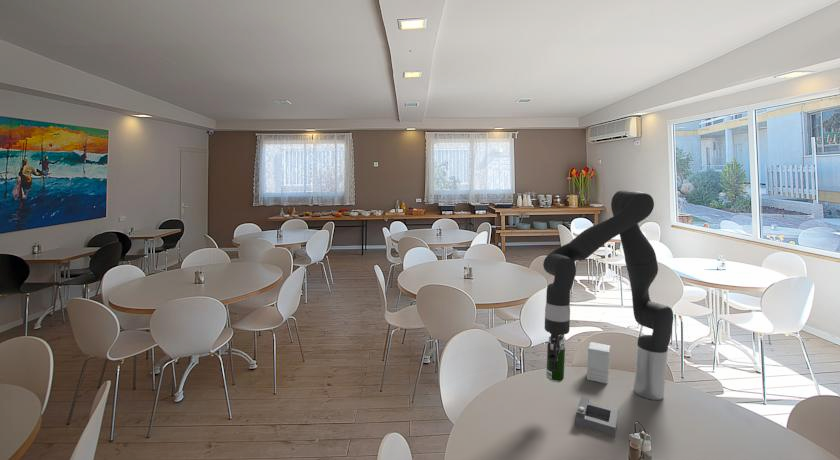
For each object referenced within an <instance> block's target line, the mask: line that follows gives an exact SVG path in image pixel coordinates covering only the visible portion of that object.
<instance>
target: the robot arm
mask: <svg viewBox="0 0 840 460" xmlns="http://www.w3.org/2000/svg"><path fill="white" fill-rule="evenodd" d="M610 204H611V205H610V207H611V208H610V209H611V213H612V217H610V218H607V219H606V220H603V221H601V222H599V223H597V224H594V225H592V226H590V227H588V228H587V229H585V230H583V231H582V232H580V233H579V234H578V235H577V236H576V237H574V238H573V239H572V240H570V241H569V242H568V243H566V244H564V245H562V246H560V247H557V248H556V249H554V250H552V251H551V252H550V253H549V254H547V255H546V257H545V258H544V260H543V265H542V266H543V269H544V271H545V272H547V273H548V274H549V275H551V276H554V277H553V278H554V279H553V282H552V283H550V284H548V285H547V288H546V295H545V297H546V299H545V308H544V330H545V331H546V332H547V333H549V334H550V336H548V342H549V343H548V342H547V345H548V360H550V371H554V372H557V365H558V354H559V353H560V349H561V344H563V343H564V344H565V335H568V334H569V333H570V326H571V325H570V322H571V306H570V303H571V302H570V301H571V290H572V287H573V284H574V281H575V277H576V273H577V267H576V266H577V265H576V264H575V262H576V261H579V262H580V261H584V260H586V259H587V258H589V257H591V256H592V255H593V254H594V253H595V252H596V251H597V250H599V249H600V248H601V247H602V246H604V245H605V244H607V242H609V241H611V240H612V239H613V238H616V237H618V236H619V237H620V243H621V247H622V250H623V254H624V261H625V266H626V270H627V274H628V279H629V284H630V290H631V299H632V309H633V310H632V311H633V316H634V320H635V321H636V323H637V324H638V325H640V326H643V327H645V328H648V329H651V330H652V334H643V335H640V336H638V338H637V343H636V344H637V346H636V358H635V359H636V361H635V370H634V371H635V372H634V383H633V384H634V385H633V391H634V392H635V394H636V395H638V396H640V397H642V398H645V399H647V400H651V401H660V400H663V399H664V396H665V385H666V373H667V362H668V350H669V345H670V342H671V337H672V330H673V323H674V312H673V309H672V308H671V307H670V306H667V305H665V304H662V303H658V302H655V301H652V299H651V298H650V294H649V293H650V292H649V291H650V286H651V284H652V283H653V282H654V280H655V278H656V277H657V275H658V273H659V272H658V271H659V264H658V260H657V256H656V252H655V249H654V248H653V246H652V244H651V243H650V241H649V240H648V238H647V237H646V236H645V235H644V233H643V232H642V230H641V228H640V225H639V223H640V222H642V221H643V220H645V219H646V218H648V217H649V216H650V215H651V213H652V212H653V209H654V207H655V201H654V198H653V196H652V195H651V194H650V193H647V192H643V191H638V190H637V191H636V190H629V189H628V190H627V189H621V190H619V191H616V192H615V193H614V194H613V196H612V198H611V202H610ZM558 347H559V348H558ZM557 348H558V350H557ZM552 355H554V356H552Z"/></svg>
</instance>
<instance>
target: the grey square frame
mask: <svg viewBox="0 0 840 460" xmlns="http://www.w3.org/2000/svg"><path fill="white" fill-rule="evenodd" d="M575 413H576V414H575V426H576V427H580V428H582V429H586V430H589V431H593V432H596V433H599V434H603V435H606V436H610V437H613V438H615V437H616V433H617V426H618V418H619V409H618V408H614V407H610V406H608V405H607V406H606V405H603V404H600V403H599V404H598V403H595V402H592V401H590V397H589V396H586V395H581V396H580V399H579V403H578V406H577V408H576V411H575ZM587 414H589V415H593V416H595V417H591V416H588V415H587ZM596 417H600V418H603V419H607V420H608V421H605V420H602V419H599V418H596Z"/></svg>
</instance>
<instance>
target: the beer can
mask: <svg viewBox="0 0 840 460" xmlns="http://www.w3.org/2000/svg"><path fill="white" fill-rule="evenodd" d="M548 343H549V341H548V342H547V345H546V346H547V348H546V349H547V350H546V371H545V372H546V374H545V375H546V378H547V380H548V381H550V382H552V383H561V382H563V381H564V379H565V378H564V377H565V357H566V346H565V342H564V343H563V344H561V349H560V353H559V354H558V365H557V372H554V371H550V360H548ZM558 348H559V347H558ZM558 348H557V350H558ZM552 356H554V355H552Z"/></svg>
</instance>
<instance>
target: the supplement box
mask: <svg viewBox="0 0 840 460" xmlns="http://www.w3.org/2000/svg"><path fill="white" fill-rule="evenodd" d="M610 357H611V345H609V344H604V343H598V342H594V341H593V342H592V341H590V343H589V345H588V348H587V367H586V369H587V370H586V380H588V381H589V380H590V381H593V382H598V383H601V384H608V381H609V375H610V359H611V358H610Z"/></svg>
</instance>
